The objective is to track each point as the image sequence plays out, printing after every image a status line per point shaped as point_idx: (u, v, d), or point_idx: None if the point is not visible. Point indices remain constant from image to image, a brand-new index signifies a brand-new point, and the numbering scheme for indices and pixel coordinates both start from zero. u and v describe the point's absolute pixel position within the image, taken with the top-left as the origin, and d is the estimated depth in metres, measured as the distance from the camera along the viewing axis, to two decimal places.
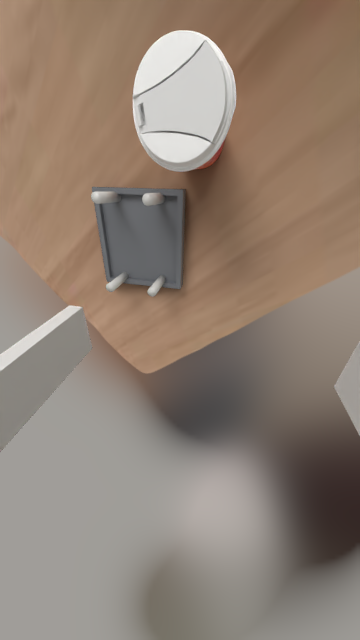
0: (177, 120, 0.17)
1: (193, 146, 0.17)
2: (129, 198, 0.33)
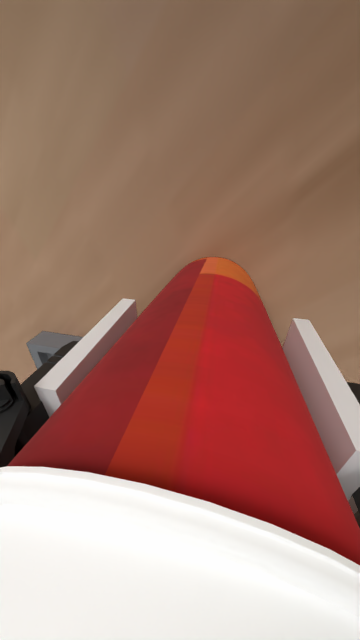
0: None
1: None
2: None
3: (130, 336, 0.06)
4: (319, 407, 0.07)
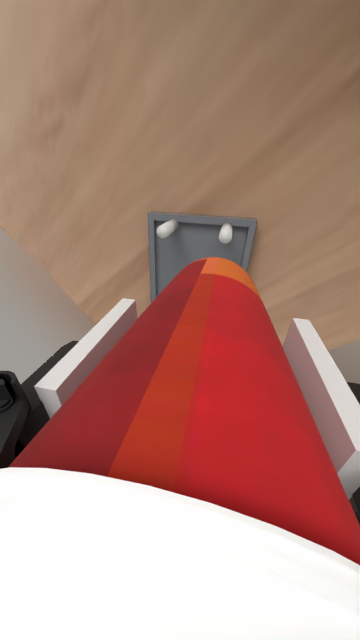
0: None
1: None
2: (189, 226, 0.29)
3: (131, 336, 0.06)
4: (319, 407, 0.07)
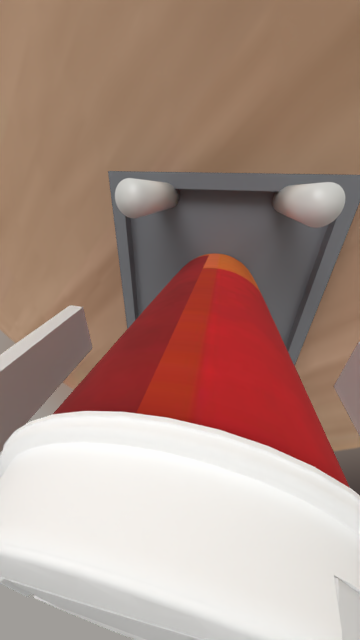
0: None
1: None
2: (200, 200, 0.13)
3: (141, 322, 0.07)
4: None
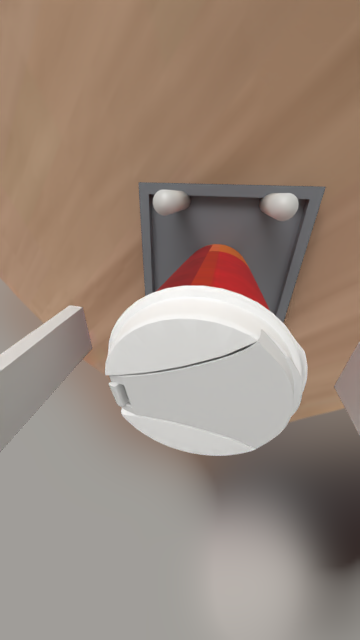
0: (191, 416, 0.09)
1: (220, 445, 0.09)
2: (206, 203, 0.18)
3: (174, 276, 0.11)
4: None
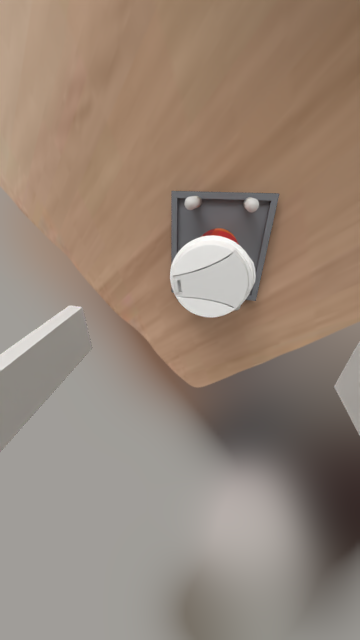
0: (208, 293, 0.21)
1: (220, 309, 0.21)
2: (211, 203, 0.30)
3: None
4: None
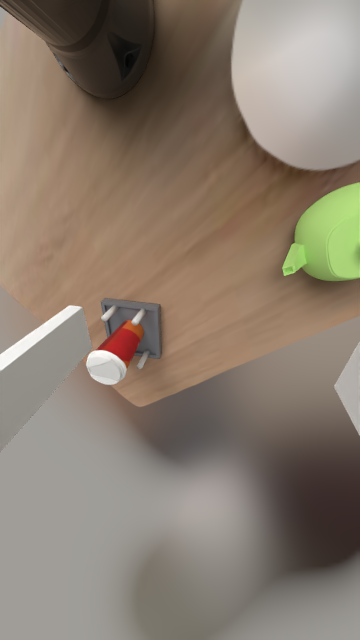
0: (103, 374, 0.42)
1: (111, 381, 0.43)
2: (124, 307, 0.52)
3: (104, 341, 0.45)
4: None
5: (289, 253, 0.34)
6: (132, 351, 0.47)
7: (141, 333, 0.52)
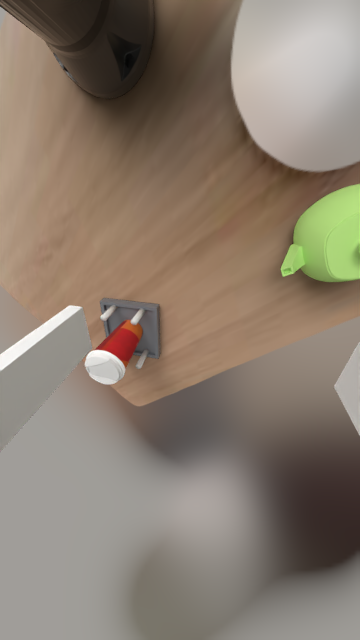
0: (102, 374, 0.43)
1: (110, 381, 0.43)
2: (123, 307, 0.52)
3: (103, 341, 0.45)
4: None
5: (288, 254, 0.34)
6: (131, 351, 0.47)
7: (140, 333, 0.52)
